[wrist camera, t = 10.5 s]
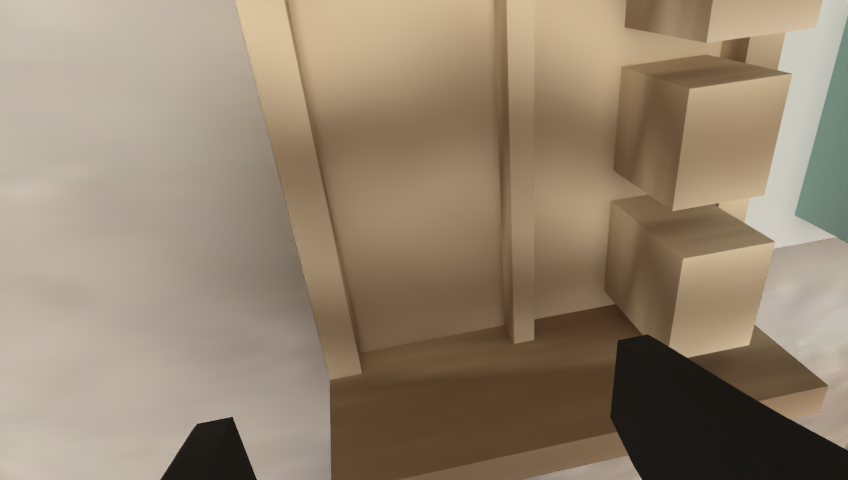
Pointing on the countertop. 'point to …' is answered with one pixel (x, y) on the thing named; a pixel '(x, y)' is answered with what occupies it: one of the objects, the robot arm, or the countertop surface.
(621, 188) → the rack
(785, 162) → the mat
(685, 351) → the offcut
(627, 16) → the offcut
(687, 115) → the block
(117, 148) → the countertop surface
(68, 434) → the countertop surface
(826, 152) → the board
